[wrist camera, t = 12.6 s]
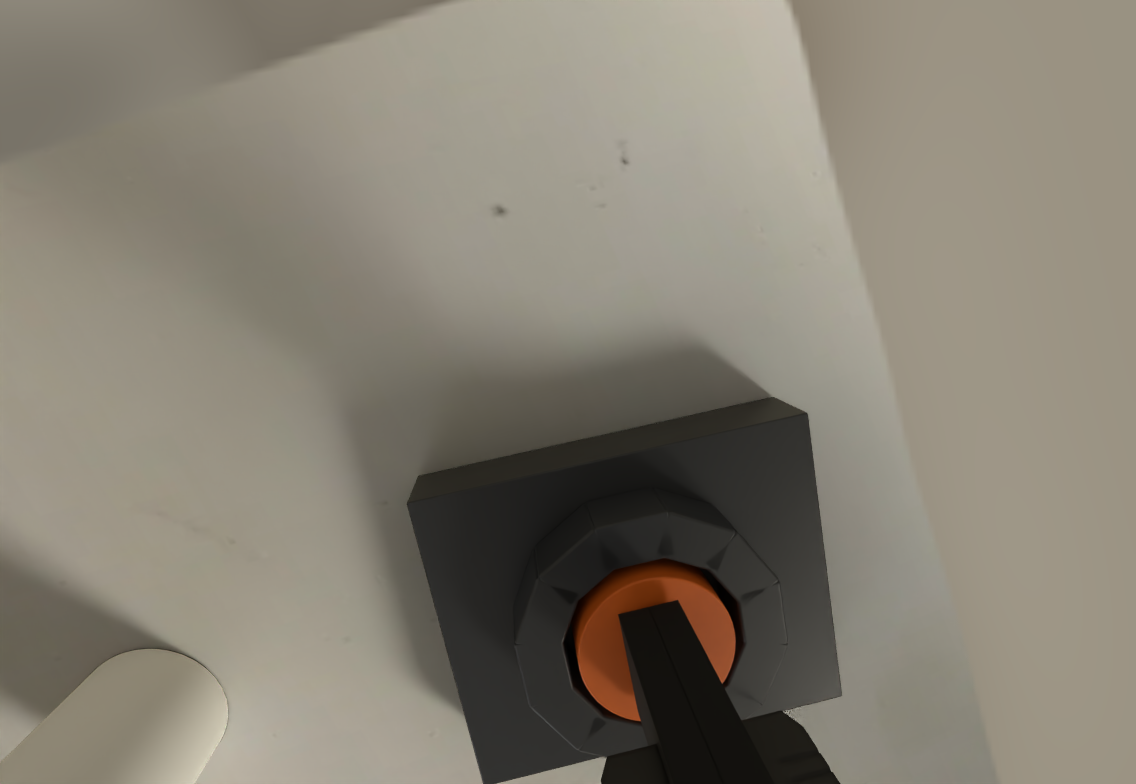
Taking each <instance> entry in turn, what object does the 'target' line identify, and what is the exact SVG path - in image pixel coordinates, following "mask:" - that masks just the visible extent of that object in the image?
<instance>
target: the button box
mask: <svg viewBox="0 0 1136 784" xmlns="http://www.w3.org/2000/svg"><path fill="white" fill-rule="evenodd" d="M407 506H408V510H409V514H410V517H411V521H412V525H413V528H414V532H415V536H416V539H417V543H418V547H419V550H420V554H421V558H422V561H423V565H424V569H425V572H426V576H427V580H428V583H429V587H430V591H431V594H432V598H433V602H434V605H435V609H436V613H437V616H438V620H439V624H440V627H441V631H442V635H443V638H444V642H445V646H446V649H447V653H448V657H449V660H450V664H451V668H452V671H453V675H454V679H455V682H456V686H457V689H458V693H459V697H460V700H461V704H462V708H463V711H464V715H465V719H466V722H467V726H468V730H469V733H470V737H471V741H472V744H473V748H474V752H475V755H476V759H477V763H478V766H479V770H480V774H481V777H482V781H483V784H496V783H500V782H504V781H508V780H512V779H516V778H520V777H524V776H528V775H532V774H536V773H540V772H544V771H548V770H552V769H556V768H560V767H564V766H568V765H572V764H576V763H579V762H583V761H587V760H591V759H595V758H599V757H607V756H610V755H614V754H618V753H622V752H626V751H630V750H634V749H638V748H642V747H646V746H648V743H647V740H646V737H645V733H644V730H643V727H642V723H641V721H636V720H630V719H627V718H624V717H621V716H619V715H616V714H614V713H612V712H611V711H609V710H607V709H606V708H604V707H603V706H602V705H601V704H600V703H598V702H597V701H596V699H595V698H594V697H593V696H592V695H591V694H590V692H589V691H588V689H587V688H586V686H585V684H584V682H583V680H582V677H581V674H580V670H579V665H578V660H577V654H576V649H575V644H574V638H573V633H572V626H571V620H572V618H573V615H574V612H575V609H576V606H577V604H578V601H579V600H580V599H581V598H582V597H583V596H585V595H586V594H587V593H588V592H589V591H590V590H592V589H593V588H594V587H595V586H596V585H597V584H599V583H600V582H601V581H602V580H603V579H604V578H605V577H607V576H608V575H609V574H610V573H611V572H612V571H614V570H616V569H620V568H624V567H628V566H633V565H637V564H641V563H645V562H650V561H654V560H658V559H662V558H666V559H670V560H674V561H677V562H681V563H684V564H688V565H692V566H695V567H698V568H699V569H700V570H701V571H702V573H703V574H704V575H705V577H706V578H707V580H708V581H709V583H710V584H711V586H712V588H713V589H714V591H715V592H716V594H717V595H718V597H719V598H720V600H721V601H722V603H723V604H724V606H725V608H726V609H727V611H728V613H729V615H730V617H731V620H732V622H733V626H734V630H735V640H736V643H735V654H734V659H733V663H732V666H731V669H730V671H729V673H728V675H727V677H726V679H725V680H724V682H723V683H722V684H723V686H724V688H725V690H726V692H727V694H728V696H729V698H730V700H731V702H732V703H733V705H734V707H735V709H736V711H737V713H738V715H739V717H740V719H741V720H745V719H749V718H752V717H756V716H760V715H764V714H768V713H772V712H776V711H780V710H781V711H785V710H789V709H793V708H797V707H801V706H805V705H809V704H813V703H817V702H821V701H825V700H828V699H832V698H836V697H840V696H842V692H841V683H840V675H839V667H838V659H837V650H836V642H835V634H834V626H833V618H832V609H831V601H830V593H829V585H828V576H827V568H826V560H825V552H824V544H823V535H822V527H821V519H820V511H819V502H818V494H817V486H816V478H815V470H814V461H813V453H812V445H811V437H810V428H809V420H808V414H807V413H806V412H804V411H802V410H800V409H798V408H796V407H794V406H792V405H789V404H787V403H785V402H783V401H781V400H779V399H777V398H775V397H771V398H767V399H762V400H758V401H753V402H749V403H744V404H740V405H735V406H731V407H726V408H722V409H717V410H713V411H708V412H704V413H699V414H695V415H690V416H686V417H681V418H677V419H672V420H668V421H663V422H659V423H654V424H650V425H645V426H641V427H636V428H632V429H628V430H623V431H619V432H614V433H610V434H605V435H601V436H596V437H592V438H587V439H583V440H578V441H574V442H569V443H565V444H560V445H556V446H551V447H547V448H542V449H538V450H533V451H529V452H524V453H520V454H515V455H511V456H506V457H502V458H497V459H493V460H488V461H484V462H479V463H475V464H470V465H466V466H461V467H457V468H453V469H448V470H444V471H439V472H435V473H430V474H426V475H421V476H418V478H417V481H416V483H415V485H414V488H413V490H412V492H411V495H410V497H409V500H408V502H407Z"/></svg>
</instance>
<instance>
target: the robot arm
mask: <svg viewBox="0 0 1136 784" xmlns="http://www.w3.org/2000/svg"><path fill="white" fill-rule="evenodd" d="M618 617H619V622H620V626H621V631H622V636H623V641H624V646H625V651H626V656H627V661H628V666H629V671H630V676H631V680H632V685H633V690H634V695H635V700H636V705H637V710H638V713H639V717H640V720H641V723H642V727H643V730H644V733H645V737H646V740H647V743H648V746H646V747H642V748H638V749H634V750H630V751H626V752H622V753H618V754H614V755H610V756H607V759H606V763H605V767H604V771H603V774H602V778H601V784H840V782H839V781H838V779H837V778H836V776H835V775H834V773H833V772H831V770H830V767H829V766H828V764H827V762H826V761H825V759H824V758H823V756H822V755H821V753H819V752H818V749H817V747H816V746H815V744H814V743H813V741H812V739H811V738H810V736H809V735H808V733H807V732H806V730H805V729H804V727H803V726H801V725H800V724H799V723H797V722H796V721H795V720H793V719H792V718H791V717H789V716H788V715H786V714H785V713H784V712H782V711H781V710H780V711H776V712H772V713H768V714H764V715H760V716H756V717H752V718H749V719H745V720H741V719H740V717H739V715H738V713H737V711H736V709H735V707H734V705H733V703H732V702H731V700H730V698H729V696H728V694H727V692H726V690H725V688H724V686H723V684H722V683H721V681H720V679H719V677H718V675H717V673H716V671H715V669H714V667H713V665H712V664H711V662H710V660H709V658H708V656H707V654H706V652H705V650H704V648H703V646H702V644H701V643H700V641H699V639H698V637H697V635H696V633H695V631H694V629H693V627H692V625H691V624H690V622H689V620H688V618H687V616H686V614H685V612H684V610H683V608H682V606H681V605H680V603H679V601H678V600H675V601H671V602H667V603H663V604H659V605H654V606H650V607H646V608H642V609H638V610H634V611H630V612H625V613H621V614H618Z"/></svg>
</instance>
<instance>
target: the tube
mask: <svg viewBox="0 0 1136 784" xmlns="http://www.w3.org/2000/svg"><path fill="white" fill-rule="evenodd" d="M227 721H228V706H227V700H226V697H225V694H224V692H223V689H222V687H221V686H220V684H219V683H218V681H217V680H216V678H215V677H214V676H213V675H212V674H211V673H210V672H209V671H208V670H207V669H206V668H205V667H203V666H202V665H201V664H199V663H198V662H196V661H195V660H193V659H191V658H189V657H186V656H184V655H182V654H179V653H175V652H172V651H168V650H160V649H139V650H133V651H129V652H125V653H121V654H119V655H117V656H115V657H113V658H110V659H108V660H107V661H106V662H104V663H103V664H101V665H100V666H98V667H97V668H96V669H95V670H94V671H93V672H92V673H91V674H90V675H89V676H88V677H87V678H86V679H85V680H84V681H83V682H82V683H81V684H80V685H79V686H78V687H77V688H76V689H75V690H74V691H73V692H72V693H71V694H70V695H69V696H68V697H67V698H66V699H65V700H64V701H63V702H62V703H61V704H60V705H59V706H58V707H57V708H56V709H55V710H53V711H52V712H51V713H50V714H49V715H48V716H47V717H46V718H45V719H44V720H43V721H42V722H41V723H40V724H39V725H38V726H37V727H36V728H35V729H34V730H33V731H32V732H31V733H30V734H29V735H28V736H27V737H26V738H25V739H24V740H23V741H22V742H21V743H20V744H19V745H18V746H17V747H16V748H15V749H14V750H13V751H12V752H11V753H10V754H9V755H8V756H7V757H6V758H5V759H3V760H2V761H1V762H0V784H195V782H196V780H197V779H198V777H199V775H200V774H201V772H202V770H203V769H204V767H205V765H206V764H207V762H208V760H209V759H210V757H211V755H212V754H213V752H214V750H215V749H216V747H217V745H218V744H219V742H220V740H221V739H222V737H223V735H224V732H225V729H226V727H227Z"/></svg>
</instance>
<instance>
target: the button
mask: <svg viewBox="0 0 1136 784" xmlns="http://www.w3.org/2000/svg"><path fill="white" fill-rule="evenodd" d="M675 600H678V601H679V603H680V605H681V606H682V608H683V610H684V612H685V614H686V616H687V618H688V620H689V622H690V624H691V625H692V627H693V629H694V631H695V633H696V635H697V637H698V639H699V641H700V643H701V644H702V646H703V648H704V650H705V652H706V654H707V656H708V658H709V660H710V662H711V664H712V665H713V667H714V669H715V671H716V673H717V675H718V677H719V679H720V681H721V683H723V682H724V680H725V679H726V677H727V675H728V673H729V671H730V669H731V666H732V663H733V659H734V654H735V643H736V640H735V630H734V626H733V622H732V620H731V617H730V615H729V613H728V611H727V609H726V608H725V606H724V604H723V603H722V601H721V600H720V598H719V597H718V595H717V594H716V592H715V591H714V589H713V588H712V586H711V584H710V583H709V581H708V580H707V578H706V577H705V575H704V574H703V573H702V571H701V570H700V569H699V568H698V567H695V566H692V565H688V564H684V563H681V562H677V561H674V560H670V559H666V558H662V559H658V560H654V561H650V562H645V563H641V564H637V565H633V566H628V567H624V568H620V569H616V570H614V571H612V572H611V573H610V574H609V575H608V576H607V577H605V578H604V579H603V580H602V581H601V582H600V583H599V584H597V585H596V586H595V587H594V588H593V589H592V590H590V591H589V592H588V593H587V594H586V595H585V596H583V597H582V598H581V599H580V600H579V601H578V604H577V606H576V609H575V612H574V615H573V618H572V620H571V626H572V633H573V638H574V644H575V649H576V654H577V660H578V665H579V670H580V674H581V677H582V680H583V682H584V684H585V686H586V688H587V689H588V691H589V692H590V694H591V695H592V696H593V697H594V698H595V699H596V701H597V702H598V703H600V704H601V705H602V706H603V707H604V708H606V709H607V710H609V711H611V712H612V713H614V714H616V715H619V716H621V717H624V718H627V719H630V720H636V721H641V720H640V717H639V713H638V710H637V705H636V700H635V695H634V690H633V685H632V680H631V676H630V671H629V666H628V661H627V656H626V651H625V646H624V641H623V636H622V631H621V626H620V622H619V617H618V614H621V613H625V612H630V611H634V610H638V609H642V608H646V607H650V606H654V605H659V604H663V603H667V602H671V601H675Z"/></svg>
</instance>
